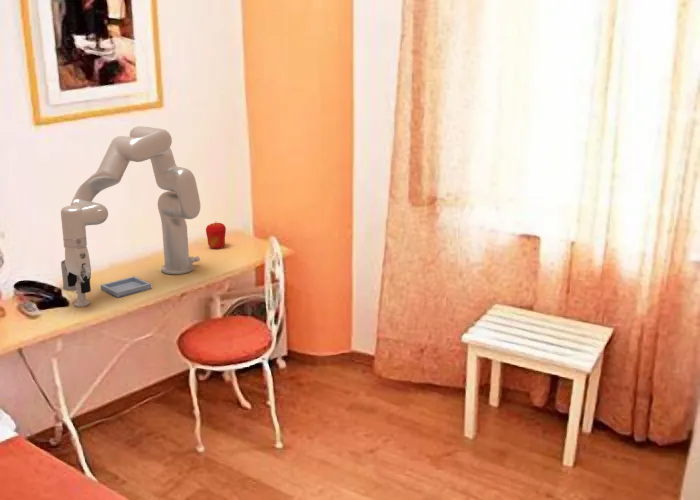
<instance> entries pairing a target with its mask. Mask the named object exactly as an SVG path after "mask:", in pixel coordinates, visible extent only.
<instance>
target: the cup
mask: <svg viewBox="0 0 700 500" xmlns="http://www.w3.org/2000/svg"><path fill="white" fill-rule="evenodd" d="M64 261H65V259H64V260H62V261H60V267H61V274H62V276H61V277H62V285H63V290H65V291H69V292H71V291H72V292H73V291H74V292H77V291H76V289H77V288H76V286H71V287H69V286H68V279H67V274H66V273H67V271H66V266H65V263H64ZM84 273H85V272H84ZM81 274H82V273H81ZM85 276H86V275H85ZM85 276H83V279H84V277H85ZM79 280H81V279H80V277H79V276H77V281H79Z"/></svg>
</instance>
